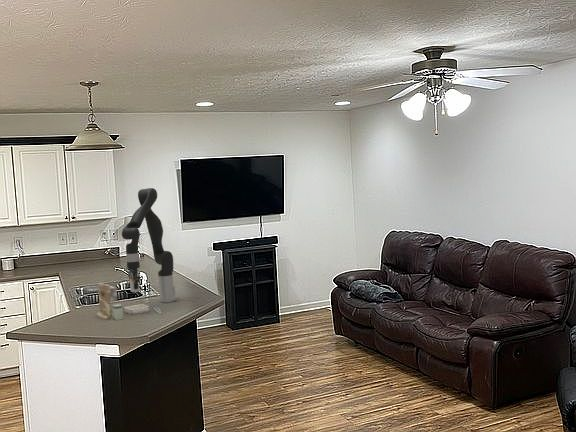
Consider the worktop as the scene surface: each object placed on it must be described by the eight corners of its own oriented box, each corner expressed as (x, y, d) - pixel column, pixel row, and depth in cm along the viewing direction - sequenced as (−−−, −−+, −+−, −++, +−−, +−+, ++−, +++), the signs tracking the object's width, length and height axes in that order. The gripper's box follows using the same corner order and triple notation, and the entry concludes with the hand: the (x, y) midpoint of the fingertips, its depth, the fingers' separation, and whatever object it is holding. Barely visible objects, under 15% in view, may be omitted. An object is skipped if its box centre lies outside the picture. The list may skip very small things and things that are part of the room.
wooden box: (111, 312, 373) (109, 281, 372) (121, 316, 360) (118, 284, 359) (96, 315, 367) (94, 283, 366) (105, 319, 354) (103, 286, 353)
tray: (142, 308, 379) (141, 304, 379) (149, 311, 369) (149, 306, 369) (124, 312, 372) (123, 307, 372) (131, 314, 363) (131, 310, 362)
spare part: (137, 290, 373) (136, 277, 372) (139, 291, 369) (138, 278, 369) (130, 291, 370) (129, 278, 370) (133, 292, 367) (132, 279, 367)
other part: (120, 317, 358) (119, 304, 357) (123, 318, 354) (121, 305, 354) (113, 318, 355) (112, 305, 355) (116, 320, 352) (115, 306, 351)
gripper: (143, 260, 365) (145, 289, 366) (134, 259, 377) (136, 286, 378) (131, 262, 361) (133, 291, 362) (122, 260, 372) (124, 288, 373)
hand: (134, 288), depth 370 cm, fingers closed on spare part, 4 cm apart
